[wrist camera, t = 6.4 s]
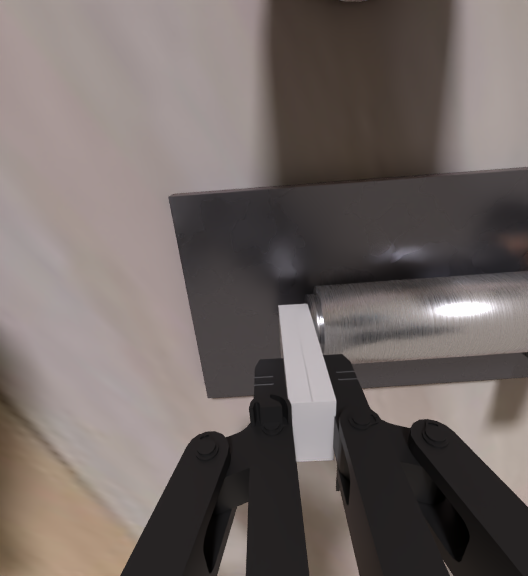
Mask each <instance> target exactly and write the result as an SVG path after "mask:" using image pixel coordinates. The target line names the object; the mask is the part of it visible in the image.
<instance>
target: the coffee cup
mask: <svg viewBox="0 0 528 576" xmlns="http://www.w3.org/2000/svg"><path fill="white" fill-rule="evenodd" d="M340 1H344V2H362V1H366V0H340Z"/></svg>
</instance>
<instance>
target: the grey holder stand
mask: <svg viewBox="0 0 528 576" xmlns="http://www.w3.org/2000/svg"><path fill="white" fill-rule="evenodd" d="M168 198H169V203H170V208H171V213H172V218H173V223H174V228H175V233H176V238H177V243H178V248H179V254H180V259H181V264H182V269H183V274H184V279H185V284H186V289H187V294H188V299H189V304H190V310H191V315H192V320H193V325H194V330H195V335H196V340H197V345H198V350H199V355H200V360H201V365H202V371H203V376H204V381H205V386H206V391H207V396H208V398H220V397H235V396H250V395H254V378H255V366H256V365H257V363H258V362H259V360H260V359H275V358H281V349H280V329H279V309H278V305H293V304H304V301H305V295H306V294H313V289H314V287H315V286H321V285H335V284H350V283H364V282H378V281H392V280H406V279H420V278H434V277H448V276H462V275H476V274H490V273H504V272H519V271H528V167H522V168H509V169H496V170H482V171H469V172H456V173H443V174H430V175H417V176H404V177H390V178H377V179H364V180H351V181H338V182H325V183H312V184H298V185H285V186H272V187H259V188H246V189H233V190H219V191H206V192H193V193H180V194H173V195H171V196H169V197H168ZM352 366H353V369H354V372H355V374H356V376H357V380H358V381H359V383H360V385H361V388H372V387H387V386H402V385H417V384H432V383H447V382H463V381H478V380H493V379H508V378H523V377H528V352H522V353H508V354H493V355H478V356H463V357H448V358H433V359H418V360H403V361H388V362H373V363H359V364H352Z"/></svg>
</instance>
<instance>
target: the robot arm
mask: <svg viewBox="0 0 528 576" xmlns="http://www.w3.org/2000/svg"><path fill="white" fill-rule="evenodd" d="M278 309H279V329H280V349H281V358H275V359H260V360H259V362H258V363H257V365H256V366H255V378H254V399H253V400H252V401H251V403H250V406H249V413H250V424H249V425H248V426H247V427H246V428H245V429H244V430H242V431H241V432H239V433H237V434H234V435H231V436H229V437H225V436H224V435H223V434H221V433H218V432H215V431H212V432H204V433H202V434H199V435H198V436H196V437H195V438H193V439H192V440H191V442H190V443H189V444H188V446H187V447H186V449H185V451H184V453H183V455H182V457H181V459H180V461H179V463H178V465H177V467H176V469H175V470H174V472H173V474H172V476H171V478H170V480H169V482H168V484H167V486H166V488H165V490H164V492H163V494H162V496H161V498H160V500H159V502H158V503H157V505H156V507H155V509H154V511H153V513H152V515H151V517H150V519H149V521H148V523H147V525H146V527H145V529H144V531H143V533H142V535H141V536H140V538H139V540H138V542H137V544H136V546H135V548H134V550H133V552H132V554H131V556H130V558H129V560H128V562H127V564H126V566H125V568H124V569H123V571H122V573H121V575H120V576H217V574H218V570H219V567H220V563H221V560H222V556H223V553H224V550H225V546H226V543H227V539H228V536H229V533H230V529H231V526H232V522H233V519H234V515H235V512H236V509H237V506H239V505H242V504H244V503H246V502H248V530H247V559H246V576H309V569H308V560H307V551H306V542H305V533H304V524H303V516H302V507H301V498H300V489H299V480H298V471H297V463H296V462H305V461H325V460H334V453H335V457H336V461H337V477H336V491H341V496H342V500H343V505H344V509H345V513H346V518H347V522H348V527H349V531H350V535H351V540H352V544H353V549H354V553H355V557H356V562H357V566H358V570H359V575H360V576H450V575H449V573H448V570H447V568H446V566H445V564H444V562H445V563H446V565H447V567H448V568H449V570H450V571H451V573H452V574H453V576H528V507H527V506H526V505H525V504H524V503H523V502H522V501H521V499H520V498H519V497H518V496H517V495H516V494H515V493H514V492H513V491H512V490H511V489H510V488H509V487H508V486H507V485H506V484H505V483H504V482H503V481H502V480H501V479H500V478H499V477H498V476H497V475H496V474H495V473H494V472H493V471H492V470H491V469H490V468H489V467H488V466H487V465H486V464H485V463H484V462H483V461H482V460H481V459H480V458H479V457H478V456H477V455H476V454H475V453H474V452H473V451H472V450H471V449H470V448H469V447H468V446H467V445H466V444H465V443H464V442H463V441H462V440H461V438H460V437H459V436H458V435H457V434H456V433H455V432H454V431H452V430H451V429H450V428H448V427H447V426H446V425H444V424H442V423H440V422H437V421H434V420H429V419H424V420H418V421H416V422H415V423H413V425H412V427H411V428H407V427H402V426H398V425H393V424H390V423H387V422H385V421H383V420H381V419H380V417H379V416H378V414H377V413H375V412H374V411H373V410H371V409H370V407H369V405H368V402H367V400H366V397H365V395H364V393H363V390H362V388H361V385H360V383H359V381H358V380H357V376H356V374H355V372H354V369H353V366H352V364H351V362H350V361H349V360H348V359H347V358H346V357H345V356H344V355H343V354H332V355H323V354H322V351H321V347H320V344H319V341H318V337H317V334H316V330H315V327H314V324H313V320H312V317H311V314H310V310H309V307H308V304H293V305H278ZM443 560H444V561H443Z"/></svg>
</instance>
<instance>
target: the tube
mask: <svg viewBox="0 0 528 576" xmlns="http://www.w3.org/2000/svg"><path fill="white" fill-rule="evenodd" d="M304 304H308V307H309V310H310V314H311V317H312V320H313V324H314V327H315V330H316V334H317V337H318V341H319V344H320V347H321V351H322V354H323V355H332V354H343V355H344V356H345V357H346V358H347V359H348V360H349V361H350V362H351V364H359V363H373V362H388V361H403V360H418V359H433V358H448V357H463V356H478V355H493V354H508V353H522V352H528V271H519V272H504V273H490V274H476V275H462V276H448V277H434V278H420V279H406V280H392V281H378V282H364V283H350V284H335V285H321V286H315V287H314V289H313V294H306V295H305V301H304Z"/></svg>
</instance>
